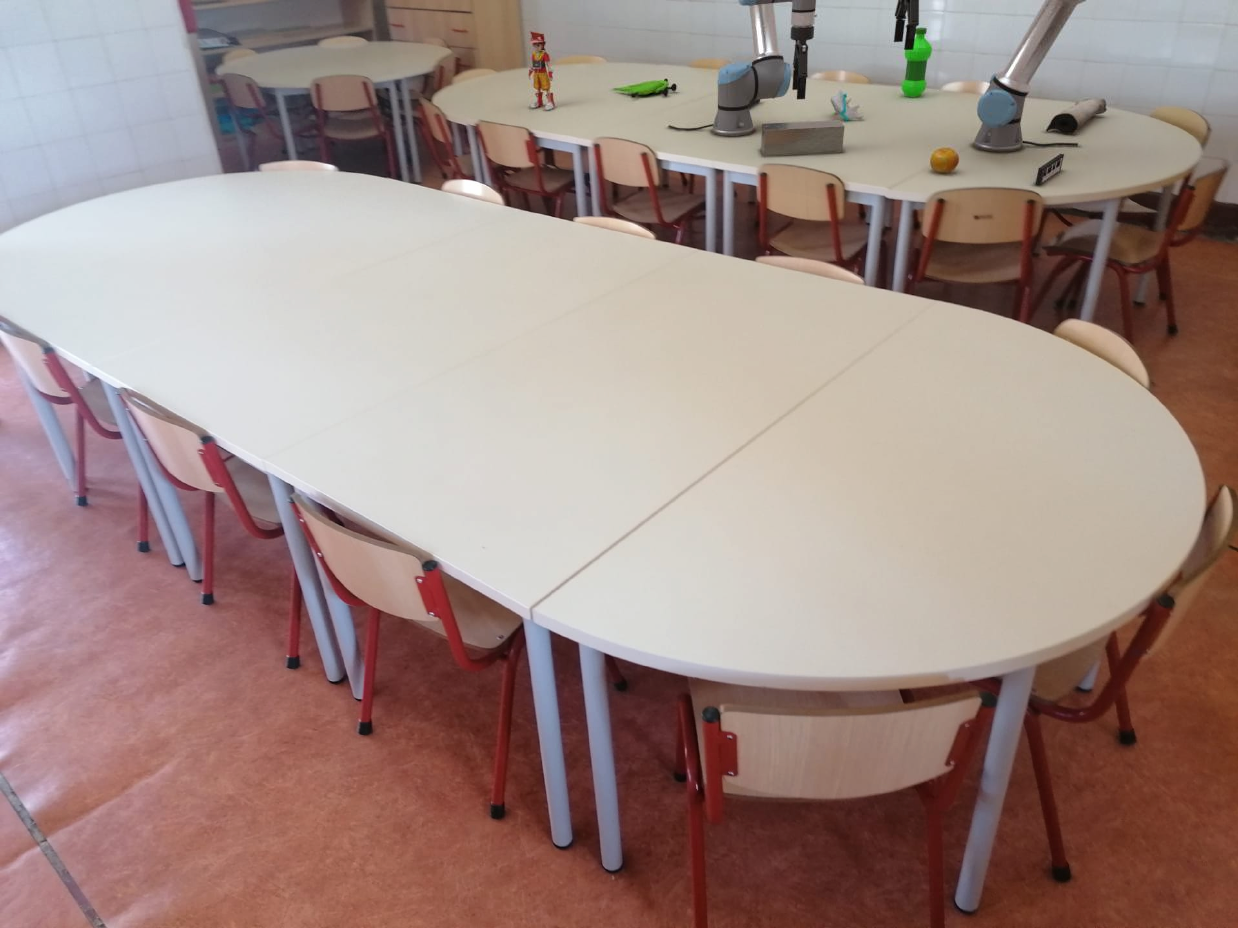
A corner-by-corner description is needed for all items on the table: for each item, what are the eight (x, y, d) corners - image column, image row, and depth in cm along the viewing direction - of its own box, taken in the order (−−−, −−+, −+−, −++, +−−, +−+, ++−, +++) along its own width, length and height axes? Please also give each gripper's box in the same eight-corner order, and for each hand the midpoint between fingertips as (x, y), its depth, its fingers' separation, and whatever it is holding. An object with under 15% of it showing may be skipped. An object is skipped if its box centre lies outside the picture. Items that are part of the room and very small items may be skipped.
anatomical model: (825, 90, 346) (851, 83, 346) (828, 117, 352) (853, 110, 352) (836, 99, 334) (863, 92, 333) (839, 127, 340) (865, 120, 339)
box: (763, 156, 309) (764, 130, 304) (761, 149, 315) (762, 124, 310) (842, 152, 308) (844, 126, 303) (837, 146, 314) (839, 120, 309)
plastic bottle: (931, 95, 365) (940, 28, 351) (913, 100, 361) (922, 32, 346) (911, 91, 372) (920, 25, 358) (894, 96, 368) (902, 29, 353)
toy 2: (686, 85, 398) (631, 84, 414) (685, 72, 395) (629, 72, 411) (651, 104, 381) (596, 103, 397) (650, 92, 378) (594, 91, 394)
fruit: (924, 163, 281) (941, 140, 278) (925, 165, 289) (941, 143, 286) (946, 178, 280) (963, 155, 277) (947, 180, 288) (963, 158, 285)
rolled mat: (1073, 103, 332) (1098, 85, 324) (1087, 124, 332) (1112, 107, 324) (1041, 125, 315) (1067, 107, 306) (1056, 147, 315) (1082, 129, 307)
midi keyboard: (1039, 185, 269) (1043, 168, 266) (1035, 184, 270) (1038, 168, 267) (1060, 170, 279) (1064, 154, 277) (1056, 169, 280) (1060, 153, 277)
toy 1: (525, 109, 381) (517, 32, 364) (534, 104, 388) (527, 28, 371) (550, 110, 377) (543, 32, 360) (559, 105, 384) (553, 28, 367)
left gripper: (819, 32, 282) (814, 103, 294) (809, 19, 302) (805, 85, 314) (795, 33, 282) (791, 103, 294) (787, 20, 303) (783, 86, 315)
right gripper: (935, -25, 267) (925, 52, 279) (913, -34, 288) (905, 38, 300) (910, -23, 268) (901, 53, 280) (890, -33, 288) (882, 39, 300)
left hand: (798, 94), depth 304 cm, fingers open, 13 cm apart
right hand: (903, 46), depth 290 cm, fingers open, 13 cm apart
